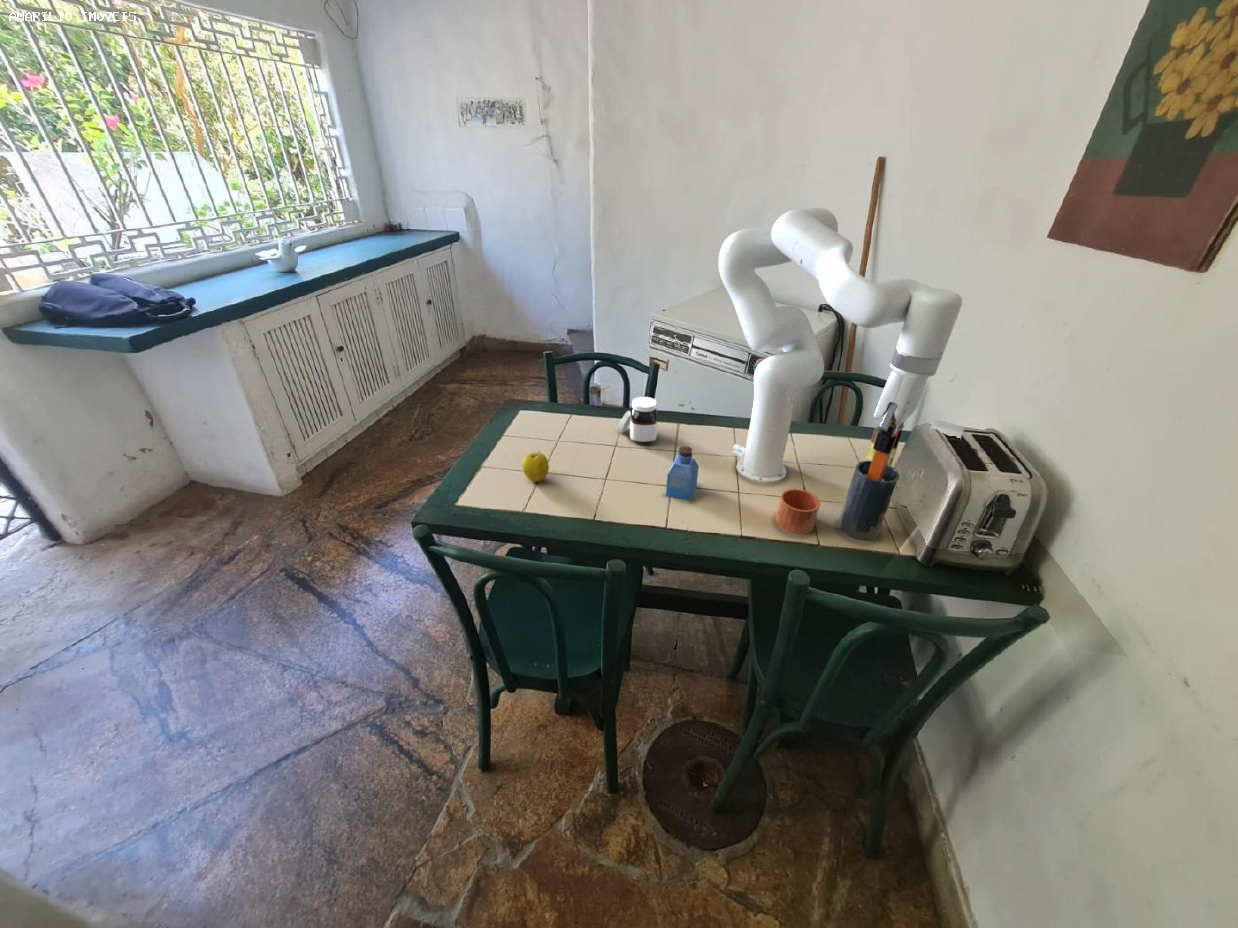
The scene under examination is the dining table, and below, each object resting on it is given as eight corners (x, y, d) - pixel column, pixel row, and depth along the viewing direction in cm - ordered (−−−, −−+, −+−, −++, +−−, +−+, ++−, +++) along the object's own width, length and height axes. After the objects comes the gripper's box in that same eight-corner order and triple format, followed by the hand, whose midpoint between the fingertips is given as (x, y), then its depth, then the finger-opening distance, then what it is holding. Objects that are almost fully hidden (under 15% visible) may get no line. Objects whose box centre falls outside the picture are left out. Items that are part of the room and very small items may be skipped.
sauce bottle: (888, 486, 128) (914, 415, 118) (862, 483, 129) (885, 413, 119) (882, 472, 134) (906, 403, 123) (857, 469, 135) (879, 401, 124)
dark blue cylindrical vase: (831, 530, 113) (849, 471, 105) (846, 514, 118) (865, 456, 110) (867, 548, 109) (890, 487, 100) (882, 531, 114) (905, 471, 105)
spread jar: (657, 447, 143) (659, 410, 136) (616, 447, 143) (617, 409, 136) (655, 427, 153) (657, 391, 146) (617, 426, 153) (617, 390, 146)
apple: (554, 476, 130) (552, 449, 126) (540, 489, 125) (538, 461, 121) (533, 469, 132) (530, 443, 128) (518, 482, 127) (515, 455, 123)
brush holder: (768, 524, 115) (774, 499, 111) (786, 508, 120) (792, 484, 116) (802, 541, 110) (809, 516, 106) (819, 524, 115) (826, 499, 111)
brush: (846, 507, 110) (873, 424, 99) (856, 497, 113) (884, 415, 102) (871, 518, 107) (902, 434, 96) (881, 507, 110) (912, 424, 99)
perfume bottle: (696, 486, 127) (701, 445, 120) (691, 501, 122) (695, 458, 115) (672, 482, 129) (675, 440, 122) (665, 495, 124) (669, 453, 117)
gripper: (909, 345, 99) (881, 428, 109) (876, 367, 89) (849, 456, 99) (951, 355, 95) (917, 441, 105) (922, 380, 85) (888, 471, 95)
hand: (884, 447), depth 102 cm, fingers closed on brush, 2 cm apart
